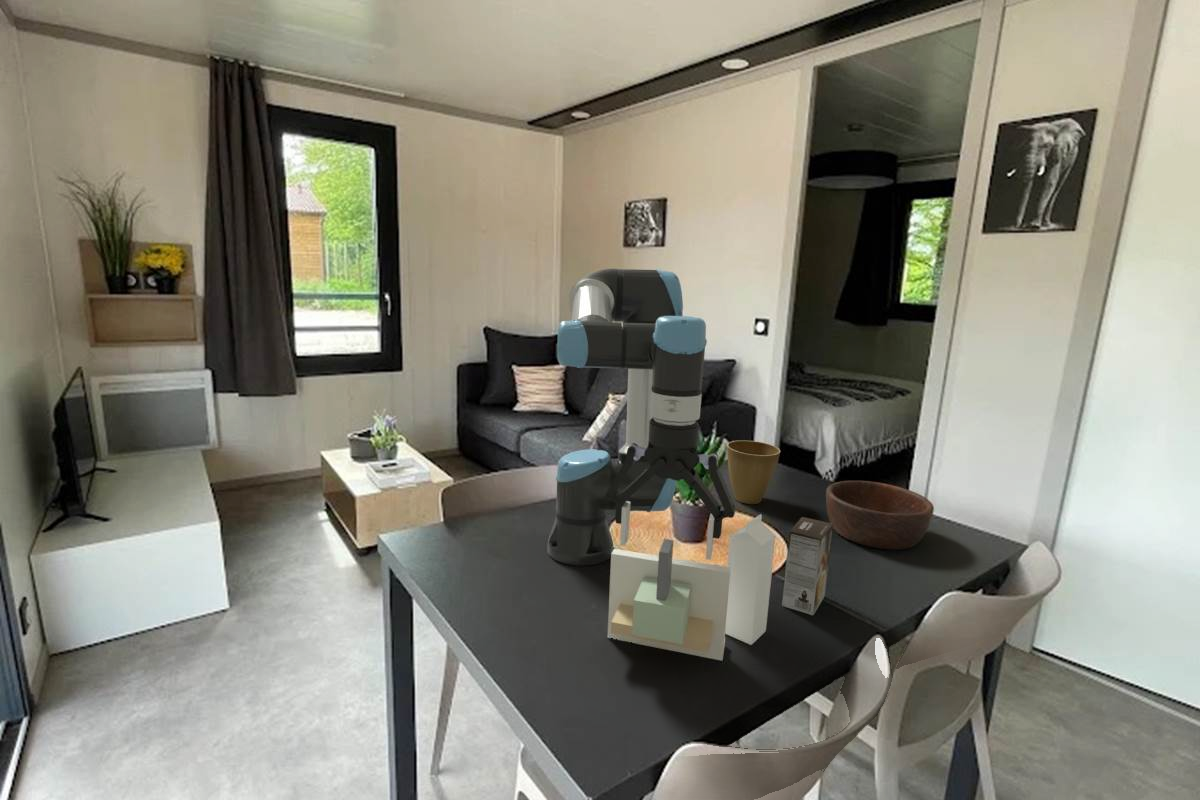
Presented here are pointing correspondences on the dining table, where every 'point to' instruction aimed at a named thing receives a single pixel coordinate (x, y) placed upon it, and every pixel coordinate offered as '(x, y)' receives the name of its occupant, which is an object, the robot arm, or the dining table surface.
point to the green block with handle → (662, 603)
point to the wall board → (704, 602)
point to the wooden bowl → (878, 514)
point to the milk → (749, 580)
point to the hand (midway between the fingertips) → (665, 549)
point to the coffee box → (807, 565)
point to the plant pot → (751, 469)
